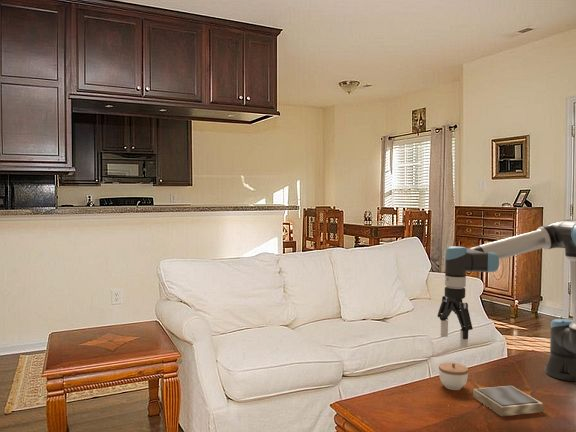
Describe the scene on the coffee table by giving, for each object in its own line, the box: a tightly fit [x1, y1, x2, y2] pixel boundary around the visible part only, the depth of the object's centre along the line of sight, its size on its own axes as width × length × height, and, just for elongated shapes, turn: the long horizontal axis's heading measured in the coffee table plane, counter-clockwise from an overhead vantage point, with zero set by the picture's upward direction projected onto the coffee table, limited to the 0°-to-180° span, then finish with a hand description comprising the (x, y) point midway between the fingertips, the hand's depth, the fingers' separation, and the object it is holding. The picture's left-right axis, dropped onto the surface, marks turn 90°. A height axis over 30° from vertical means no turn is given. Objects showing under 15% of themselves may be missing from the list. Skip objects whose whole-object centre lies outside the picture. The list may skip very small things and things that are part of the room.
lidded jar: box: [438, 362, 469, 391], centre depth 186 cm, size 11×11×9 cm
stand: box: [472, 385, 544, 417], centre depth 171 cm, size 16×16×3 cm
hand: (453, 341), depth 186 cm, fingers open, 13 cm apart
